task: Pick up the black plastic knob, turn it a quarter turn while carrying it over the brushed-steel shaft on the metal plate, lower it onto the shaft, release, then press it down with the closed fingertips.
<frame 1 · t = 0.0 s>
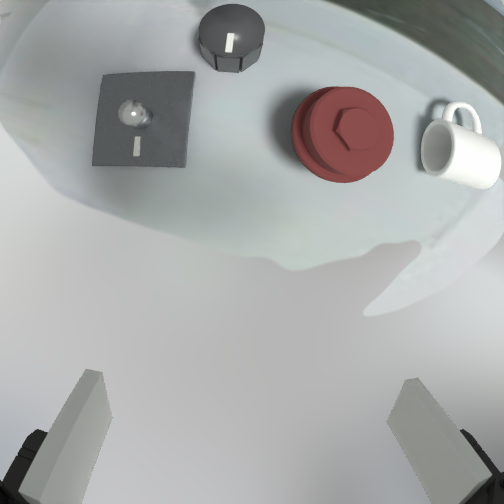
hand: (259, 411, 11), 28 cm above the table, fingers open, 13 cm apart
knob: (231, 47, 32), on the table
mechanical component: (319, 140, 36), on the table
metal plate: (142, 118, 33), on the table
mug: (445, 142, 37), on the table
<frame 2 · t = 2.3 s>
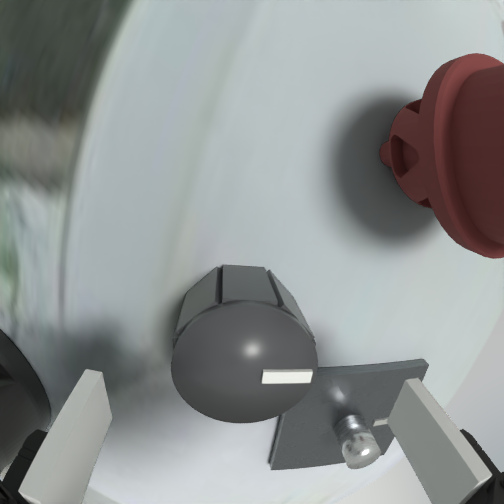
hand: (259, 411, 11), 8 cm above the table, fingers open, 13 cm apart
knob: (239, 317, 20), on the table
mechanical component: (417, 153, 18), on the table
metal plate: (345, 418, 23), on the table
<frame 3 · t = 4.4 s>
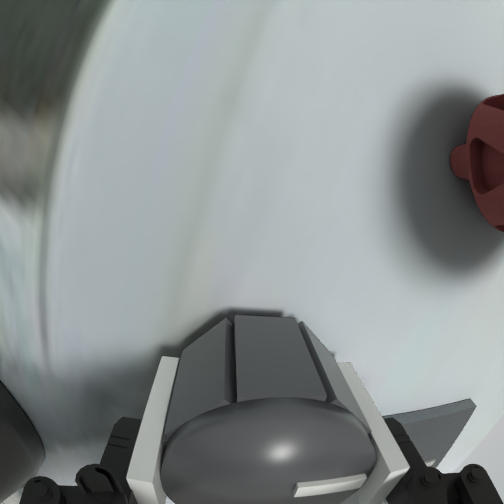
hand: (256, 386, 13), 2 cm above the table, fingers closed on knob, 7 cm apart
knob: (256, 382, 13), point 1 cm above the table, touching gripper
mechanical component: (487, 162, 12), on the table
metal plate: (380, 464, 18), on the table
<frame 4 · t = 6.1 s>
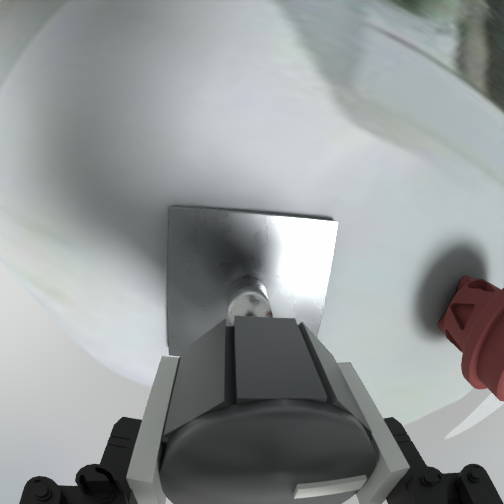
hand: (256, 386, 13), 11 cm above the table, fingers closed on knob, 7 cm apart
knob: (256, 383, 13), point 11 cm above the table, touching gripper
mechanical component: (459, 304, 26), on the table
metal plate: (247, 289, 24), on the table
when the fingers open (2 cm above the table, at t = 7.8 s): knob stays where it is, resting on metal plate.
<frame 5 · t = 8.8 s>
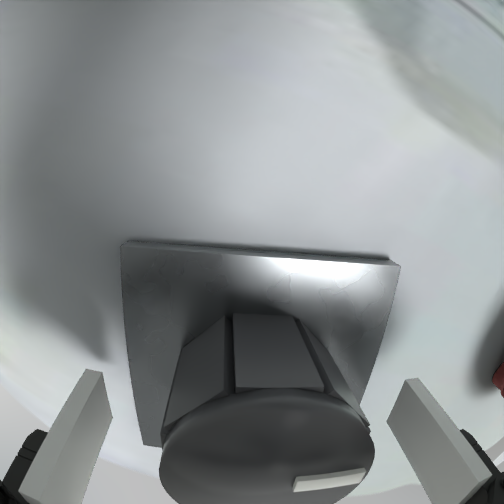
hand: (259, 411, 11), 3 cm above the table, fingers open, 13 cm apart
knob: (255, 381, 13), point 1 cm above the table, touching metal plate
metal plate: (253, 367, 15), on the table
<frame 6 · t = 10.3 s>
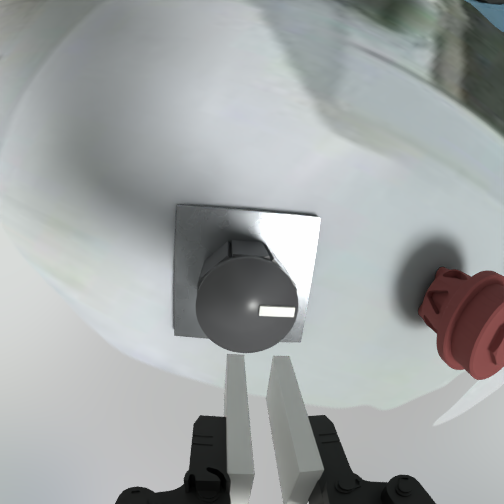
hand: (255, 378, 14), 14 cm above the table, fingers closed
knob: (243, 281, 26), point 1 cm above the table, touching metal plate
mechanical component: (437, 293, 30), on the table
metal plate: (243, 276, 28), on the table
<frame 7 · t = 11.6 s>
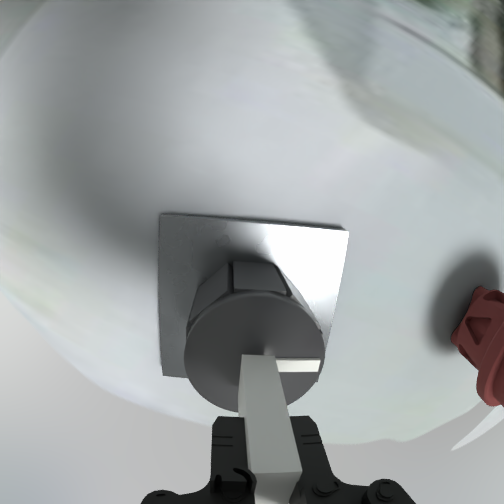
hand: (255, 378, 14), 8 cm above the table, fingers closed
knob: (248, 313, 20), point 1 cm above the table, touching metal plate
mechanical component: (472, 316, 24), on the table
metal plate: (247, 306, 21), on the table
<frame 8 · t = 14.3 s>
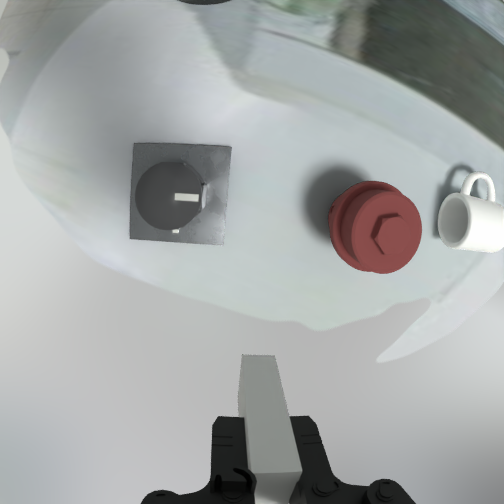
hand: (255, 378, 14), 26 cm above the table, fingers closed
knob: (177, 193, 36), point 1 cm above the table, touching metal plate
mechanical component: (348, 216, 39), on the table
metal plate: (178, 193, 37), on the table
mug: (460, 206, 40), on the table
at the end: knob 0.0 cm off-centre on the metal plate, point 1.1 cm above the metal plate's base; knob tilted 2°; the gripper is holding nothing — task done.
